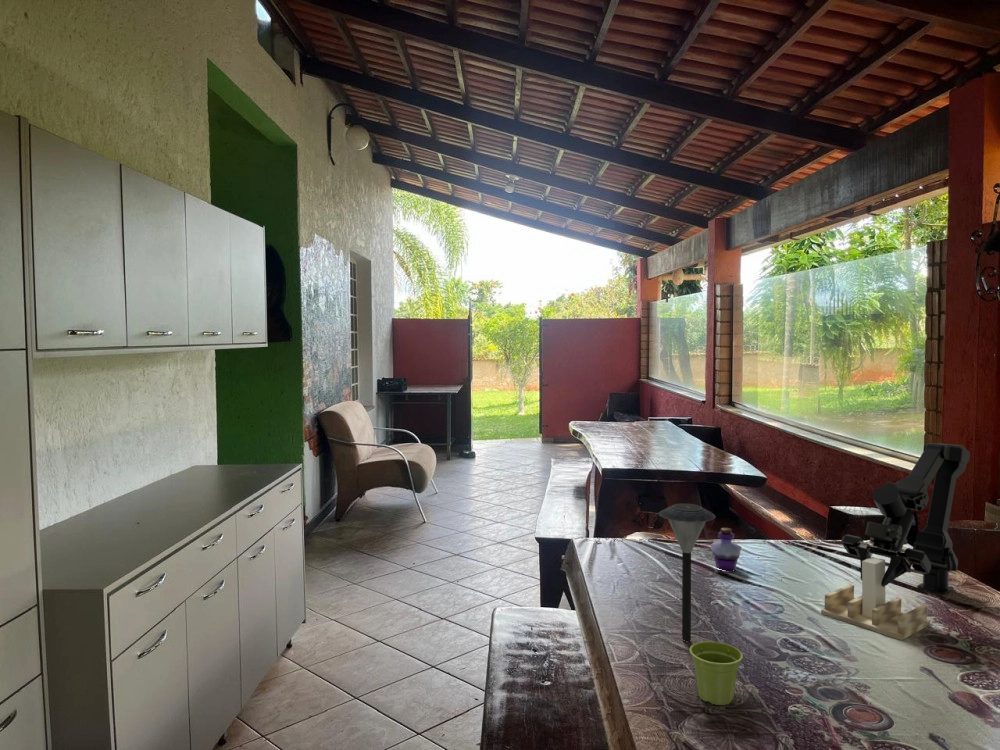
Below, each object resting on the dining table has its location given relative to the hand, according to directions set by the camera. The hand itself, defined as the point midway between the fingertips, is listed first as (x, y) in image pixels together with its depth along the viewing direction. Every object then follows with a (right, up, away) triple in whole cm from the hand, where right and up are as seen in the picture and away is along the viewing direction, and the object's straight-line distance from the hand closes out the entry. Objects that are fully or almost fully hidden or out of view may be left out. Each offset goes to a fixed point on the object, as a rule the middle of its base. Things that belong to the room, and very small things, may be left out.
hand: (872, 582), depth 158 cm
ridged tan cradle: (+1, -9, +1) cm, 9 cm away
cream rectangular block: (+1, -8, +1) cm, 8 cm away
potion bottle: (-22, -8, +37) cm, 44 cm away
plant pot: (-48, -11, -33) cm, 59 cm away
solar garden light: (-46, -10, -9) cm, 48 cm away
